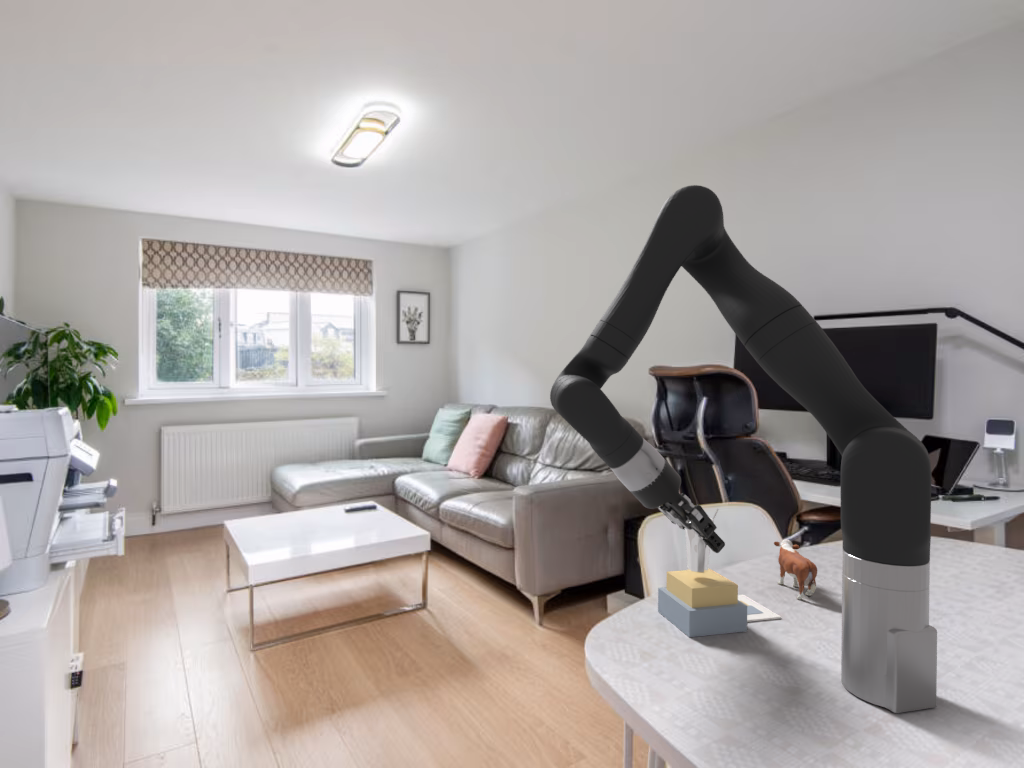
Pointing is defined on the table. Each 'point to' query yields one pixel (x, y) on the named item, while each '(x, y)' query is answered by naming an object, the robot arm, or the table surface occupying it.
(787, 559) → the bull figurine
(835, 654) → the table surface
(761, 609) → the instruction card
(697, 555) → the milkshake
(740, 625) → the tower base
